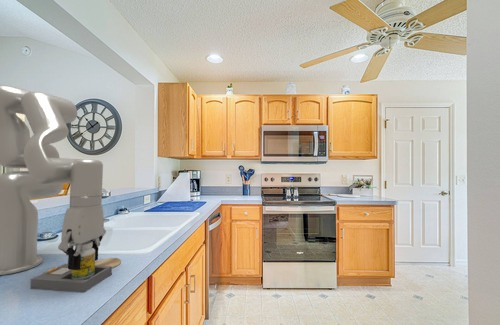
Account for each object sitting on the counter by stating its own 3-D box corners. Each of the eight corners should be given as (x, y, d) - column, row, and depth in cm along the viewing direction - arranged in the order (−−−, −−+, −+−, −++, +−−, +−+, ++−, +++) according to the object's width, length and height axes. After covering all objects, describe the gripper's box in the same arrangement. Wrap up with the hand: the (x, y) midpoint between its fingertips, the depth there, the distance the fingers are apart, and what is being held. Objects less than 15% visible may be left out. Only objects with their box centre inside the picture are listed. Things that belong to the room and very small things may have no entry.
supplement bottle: (94, 270, 68) (96, 238, 68) (94, 277, 64) (95, 243, 64) (72, 274, 65) (73, 241, 65) (70, 282, 61) (71, 247, 61)
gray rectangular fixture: (30, 288, 61) (30, 277, 61) (65, 271, 70) (65, 262, 71) (83, 292, 59) (84, 281, 59) (111, 274, 69) (111, 265, 69)
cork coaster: (82, 270, 71) (82, 268, 71) (103, 259, 80) (103, 257, 80) (107, 271, 70) (107, 269, 70) (126, 260, 79) (126, 258, 79)
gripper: (97, 197, 74) (95, 252, 73) (44, 206, 57) (41, 277, 56) (118, 198, 73) (116, 254, 73) (70, 207, 56) (67, 280, 56)
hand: (83, 263), depth 64 cm, fingers closed on supplement bottle, 5 cm apart
